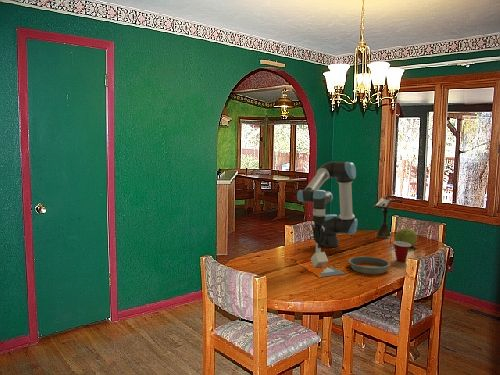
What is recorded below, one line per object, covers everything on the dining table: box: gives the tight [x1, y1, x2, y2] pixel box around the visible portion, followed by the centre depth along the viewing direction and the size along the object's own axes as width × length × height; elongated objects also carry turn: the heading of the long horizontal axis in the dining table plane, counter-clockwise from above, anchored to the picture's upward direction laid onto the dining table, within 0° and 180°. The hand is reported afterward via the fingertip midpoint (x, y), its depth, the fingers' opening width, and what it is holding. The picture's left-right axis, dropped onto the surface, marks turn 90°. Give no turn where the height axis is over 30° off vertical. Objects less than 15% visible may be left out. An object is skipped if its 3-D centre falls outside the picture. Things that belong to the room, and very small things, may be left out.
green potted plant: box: [394, 227, 418, 248], centre depth 314 cm, size 16×14×15 cm
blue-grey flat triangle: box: [318, 265, 346, 278], centre depth 264 cm, size 34×18×1 cm, turn 22°
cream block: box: [310, 251, 330, 268], centre depth 261 cm, size 7×7×7 cm
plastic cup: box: [393, 240, 411, 263], centre depth 278 cm, size 11×11×12 cm
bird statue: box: [373, 194, 394, 239], centre depth 341 cm, size 17×13×35 cm
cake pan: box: [348, 255, 390, 275], centre depth 262 cm, size 25×25×4 cm
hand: (318, 252), depth 262 cm, fingers closed
